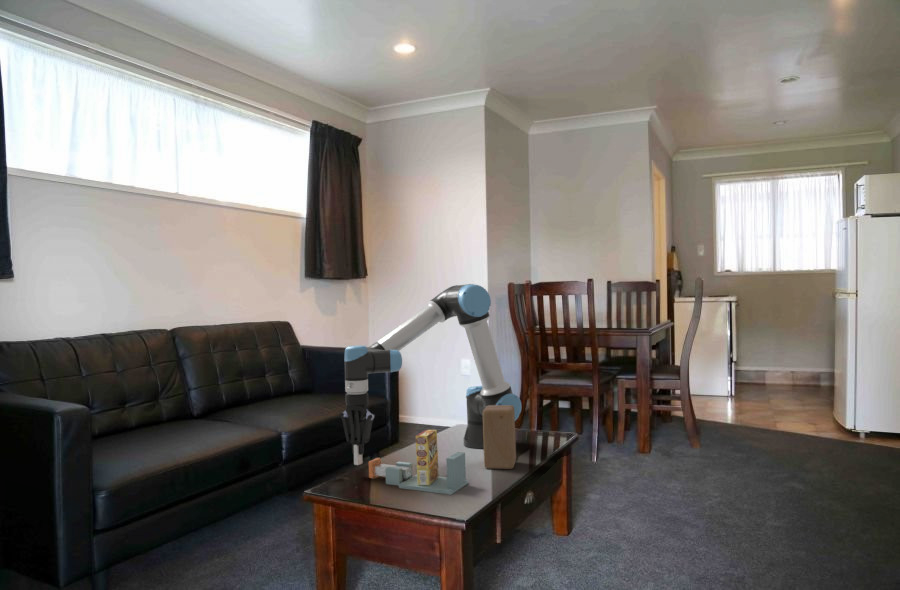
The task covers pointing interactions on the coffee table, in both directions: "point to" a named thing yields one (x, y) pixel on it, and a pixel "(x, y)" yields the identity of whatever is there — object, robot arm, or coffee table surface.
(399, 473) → the press
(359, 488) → the coffee table surface
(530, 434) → the coffee table surface
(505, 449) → the wooden block
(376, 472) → the ram
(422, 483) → the candy box
